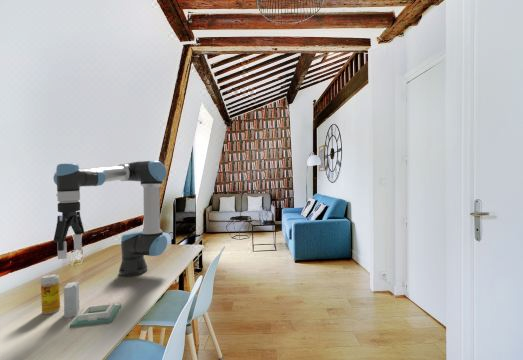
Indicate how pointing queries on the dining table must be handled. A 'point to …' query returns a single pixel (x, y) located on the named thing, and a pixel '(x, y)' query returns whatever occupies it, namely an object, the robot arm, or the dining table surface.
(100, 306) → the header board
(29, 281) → the dining table surface
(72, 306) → the skincare box
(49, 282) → the beer can
